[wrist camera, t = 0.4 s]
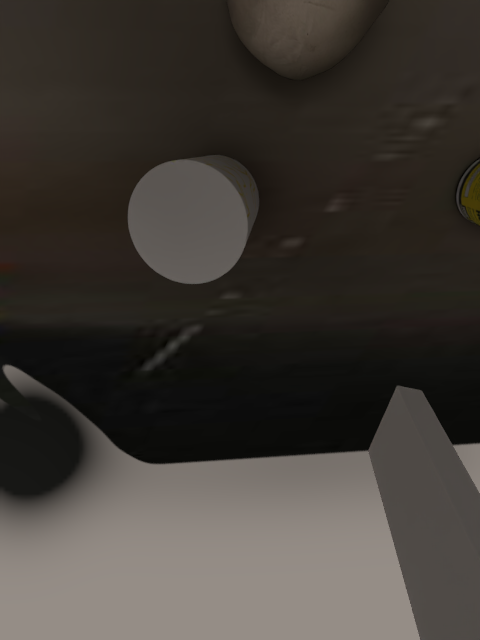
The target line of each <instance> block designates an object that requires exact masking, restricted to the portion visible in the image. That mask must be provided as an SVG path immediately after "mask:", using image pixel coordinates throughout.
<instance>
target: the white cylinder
mask: <svg viewBox="0 0 480 640" xmlns="http://www.w3.org/2000/svg"><path fill="white" fill-rule="evenodd" d="M258 209H259V193H258V189H257V185H256V183H255V181H254V179H253V177H252V175H251V174H250V172H249V171H248V170H247V169H246V168H245V167H244V166H243V165H242V164H241V163H239V162H238V161H236V160H234V159H232V158H229V157H226V156H222V155H209V156H202V157H195V158H188V159H181V160H174V161H169V162H166V163H163V164H160V165H158V166H156V167H155V168H153V169H152V170H150V171H149V172H148V173H147V174H145V175H144V176H143V178H142V179H141V180H140V181H139V182H138V184H137V185H136V187H135V189H134V191H133V193H132V196H131V199H130V202H129V208H128V226H129V231H130V235H131V238H132V241H133V243H134V246H135V248H136V249H137V251H138V253H139V254H140V256H141V257H142V258H143V260H144V261H145V262H146V263H147V264H148V265H149V266H150V267H151V268H152V269H153V270H155V271H156V272H157V273H159V274H160V275H162V276H164V277H166V278H168V279H170V280H173V281H176V282H180V283H186V284H199V283H205V282H209V281H212V280H215V279H217V278H219V277H220V276H222V275H224V274H225V273H226V272H228V271H229V270H230V269H231V268H232V267H233V266H234V265H235V264H236V262H237V261H238V259H239V258H240V256H241V254H242V252H243V250H244V247H245V245H246V242H247V239H248V237H249V234H250V232H251V229H252V227H253V224H254V222H255V219H256V217H257V213H258Z"/></svg>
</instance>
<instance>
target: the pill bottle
mask: <svg viewBox="0 0 480 640" xmlns="http://www.w3.org/2000/svg"><path fill="white" fill-rule="evenodd" d="M456 200H457V205H458V208H459V210H460V212H461V214H462V215H463V216H464V217H465V218H466V219H467V220H469V221H471V222H472V223H474V224H477V225H479V226H480V159H479V160H477V161H476V162H475V163H473V164H472V165H471V166H470V167H469V168H468V170H467V171H466V172H465V173H464V175H463V177H462V178H461V180H460V183H459V185H458V189H457V194H456Z"/></svg>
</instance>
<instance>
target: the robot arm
mask: <svg viewBox="0 0 480 640" xmlns="http://www.w3.org/2000/svg"><path fill="white" fill-rule="evenodd" d="M368 451H369V455H370V458H371V462H372V466H373V469H374V473H375V477H376V480H377V484H378V488H379V491H380V495H381V498H382V502H383V506H384V509H385V513H386V517H387V520H388V524H389V527H390V531H391V534H392V538H393V542H394V545H395V549H396V553H397V556H398V560H399V564H400V567H401V571H402V575H403V578H404V582H405V585H406V589H407V593H408V596H409V600H410V604H411V607H412V611H413V614H414V618H415V622H416V625H417V629H418V632H419V636H420V640H480V493H479V492H478V490H477V488H476V486H475V484H474V483H473V481H472V479H471V478H470V476H469V474H468V472H467V470H466V468H465V467H464V465H463V463H462V461H461V460H460V458H459V456H458V455H457V453H456V451H455V449H454V447H453V445H452V444H451V442H450V440H449V438H448V437H447V435H446V433H445V431H444V429H443V428H442V426H441V424H440V422H439V421H438V419H437V417H436V415H435V413H434V412H433V410H432V408H431V406H430V405H429V403H428V401H427V399H426V397H425V396H424V394H423V392H422V391H421V390H416V389H411V388H406V387H401V386H397V387H396V389H395V392H394V394H393V396H392V398H391V401H390V403H389V405H388V407H387V410H386V412H385V414H384V416H383V419H382V421H381V423H380V425H379V428H378V430H377V432H376V434H375V437H374V439H373V441H372V443H371V446H370V448H369V450H368Z"/></svg>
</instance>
